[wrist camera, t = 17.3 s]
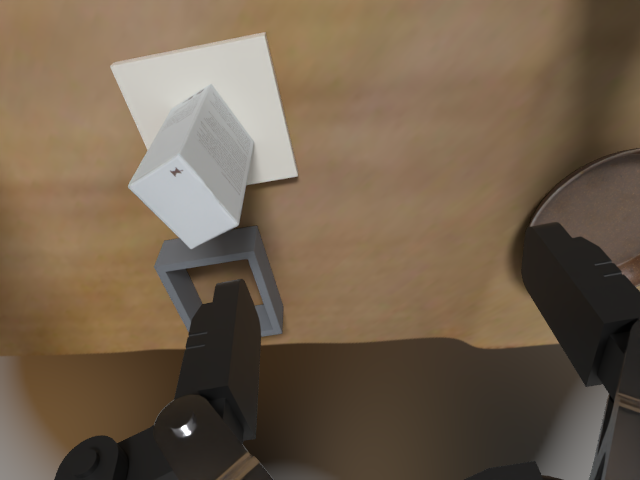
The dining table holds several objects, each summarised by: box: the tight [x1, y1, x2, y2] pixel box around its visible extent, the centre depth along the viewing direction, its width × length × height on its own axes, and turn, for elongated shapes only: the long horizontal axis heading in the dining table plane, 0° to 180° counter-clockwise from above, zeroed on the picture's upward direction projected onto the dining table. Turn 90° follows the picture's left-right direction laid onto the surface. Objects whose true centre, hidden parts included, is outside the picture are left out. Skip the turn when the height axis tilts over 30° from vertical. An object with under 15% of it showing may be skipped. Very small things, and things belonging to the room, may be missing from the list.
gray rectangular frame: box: [154, 226, 283, 337], centre depth 47 cm, size 10×12×4 cm
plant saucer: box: [528, 148, 640, 287], centre depth 45 cm, size 18×18×3 cm
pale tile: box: [110, 32, 298, 185], centre depth 38 cm, size 12×12×1 cm
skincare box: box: [128, 84, 254, 249], centre depth 33 cm, size 6×4×12 cm
